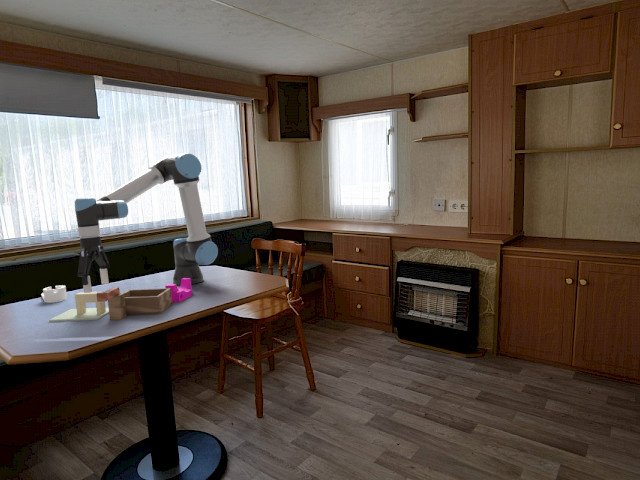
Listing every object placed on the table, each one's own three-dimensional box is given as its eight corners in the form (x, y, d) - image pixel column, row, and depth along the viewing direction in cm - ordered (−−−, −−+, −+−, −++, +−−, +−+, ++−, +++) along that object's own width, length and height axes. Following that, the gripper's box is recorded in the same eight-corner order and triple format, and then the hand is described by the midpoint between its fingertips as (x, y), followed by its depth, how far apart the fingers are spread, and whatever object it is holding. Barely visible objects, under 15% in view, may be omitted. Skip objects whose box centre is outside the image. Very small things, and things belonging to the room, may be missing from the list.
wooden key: (112, 293, 164) (111, 286, 164) (120, 293, 164) (119, 285, 164) (97, 301, 153) (96, 293, 153) (106, 301, 153) (105, 293, 153)
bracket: (68, 301, 193) (66, 287, 192) (45, 305, 188) (44, 291, 187) (62, 294, 209) (60, 280, 208) (41, 297, 204) (39, 284, 203)
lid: (71, 311, 179) (69, 289, 178) (116, 309, 179) (114, 287, 177) (49, 322, 164) (46, 299, 163) (98, 320, 164) (95, 297, 163)
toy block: (179, 302, 185) (178, 285, 184) (166, 302, 186) (165, 285, 185) (196, 293, 199) (195, 278, 198) (184, 293, 201) (183, 278, 200)
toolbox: (130, 305, 182) (128, 284, 181) (172, 304, 182) (170, 283, 181) (107, 319, 163) (105, 296, 161) (154, 318, 162) (152, 294, 161)
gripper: (96, 233, 182) (103, 281, 185) (62, 241, 158) (70, 297, 161) (114, 232, 182) (120, 280, 185) (82, 240, 158) (89, 296, 161)
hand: (97, 288), depth 173 cm, fingers open, 13 cm apart
